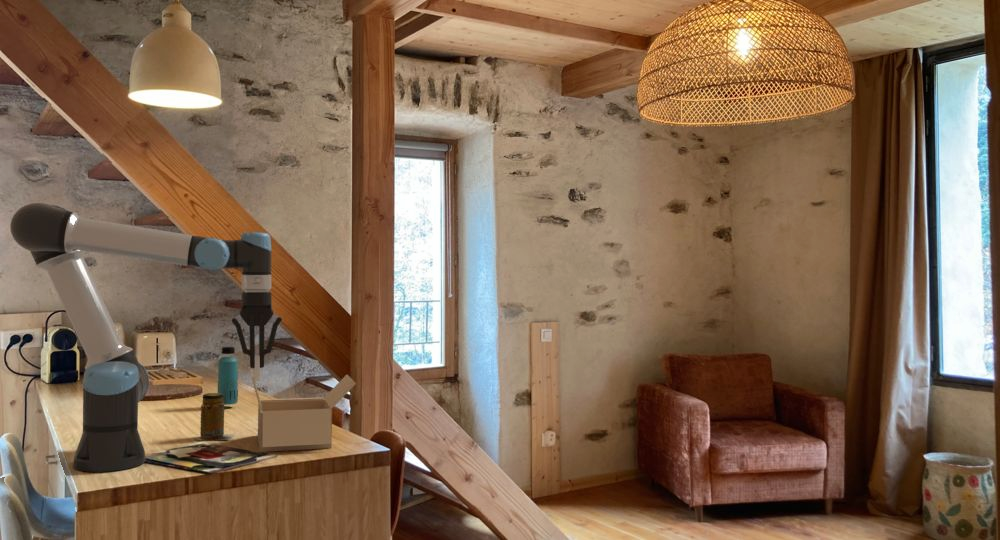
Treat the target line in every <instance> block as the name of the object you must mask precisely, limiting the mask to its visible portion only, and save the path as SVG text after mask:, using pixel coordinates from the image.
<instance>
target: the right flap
mask: <svg viewBox="0 0 1000 540" xmlns="http://www.w3.org/2000/svg"><path fill="white" fill-rule="evenodd" d="M356 384H357V383H356V382H355V381H354V380H353V378H351V377H350V376H349V374H346V375H344V377H343V378H341V380H340V381H339V382H338V383H336V385H335V386H334V387H333V388H331V389H330V391H329V392H327V394H326V395H325V396H324V397H323V400H324V399H325V400H326V402H327V403H328V405H329V406H330V408H331V409H332V410H333V408H334V407H335V406H336V405H337V404H338V403H339V402H340V401H341V400H342V399H343V398H344V397H345V396H346V395H347V394H348V393H349V392H350V391H351V389H353V387H354V386H356Z"/></svg>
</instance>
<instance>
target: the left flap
mask: <svg viewBox="0 0 1000 540" xmlns="http://www.w3.org/2000/svg"><path fill="white" fill-rule="evenodd" d="M249 370H250V375H251V380H252V384H253V388H254V392H255V396H256V399H257V403H259V407H260V411H263V410H262V406H261V401H260V400H261V397H260V393H259V390H258V385H257V381H255V373H254V371H253V368H250V369H249Z"/></svg>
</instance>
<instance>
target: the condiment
mask: <svg viewBox="0 0 1000 540" xmlns="http://www.w3.org/2000/svg"><path fill="white" fill-rule="evenodd" d="M201 401H202V402H201V403H202V404H201V405H200V428H199V429H200V432H199V433H200V437H198V438H196V439H195V441H202V442H203V441H228V440H230V439H231V438H233V436H234V434H228V433H227V434H224V433H225V432H224V431H225V405H224V403H223V394H221V393H218V392H210V393H204V394H203V395H202V400H201Z"/></svg>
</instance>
